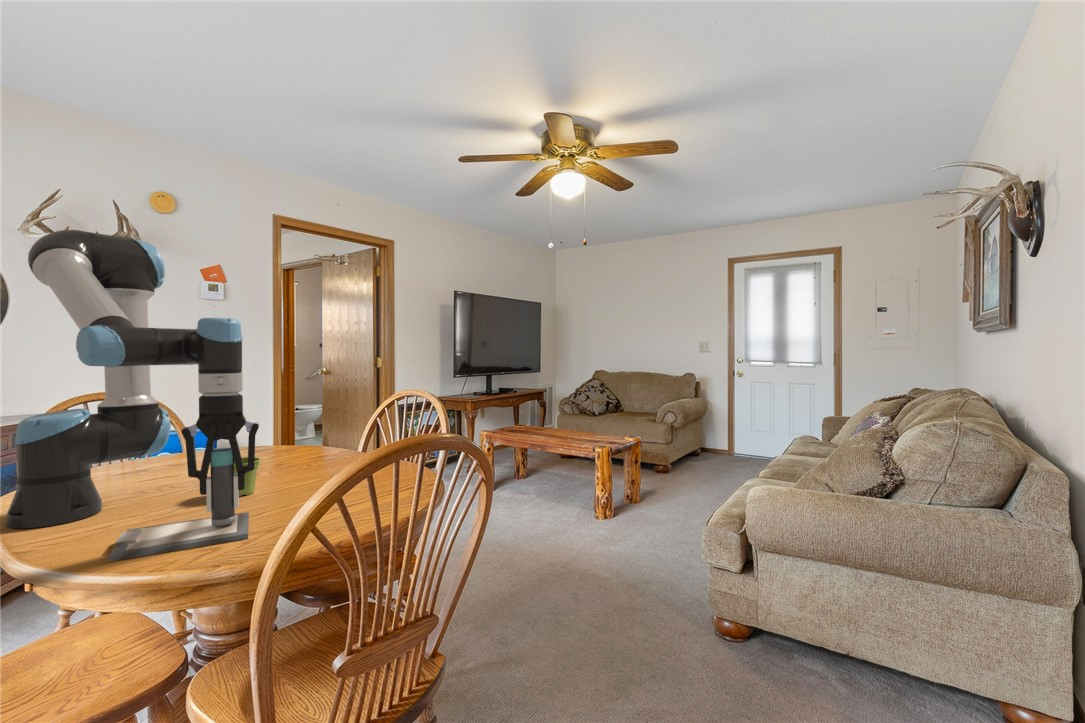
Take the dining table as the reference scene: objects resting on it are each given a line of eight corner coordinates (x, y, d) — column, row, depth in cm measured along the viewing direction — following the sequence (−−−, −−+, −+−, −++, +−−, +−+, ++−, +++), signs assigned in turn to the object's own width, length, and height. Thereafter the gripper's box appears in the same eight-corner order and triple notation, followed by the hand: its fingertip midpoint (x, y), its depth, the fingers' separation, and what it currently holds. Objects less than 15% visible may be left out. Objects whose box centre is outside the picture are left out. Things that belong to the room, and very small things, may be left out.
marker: (210, 527, 99) (208, 452, 98) (212, 520, 102) (211, 448, 102) (234, 523, 101) (233, 450, 100) (235, 517, 104) (234, 446, 104)
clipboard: (108, 561, 87) (108, 551, 87) (127, 534, 100) (127, 525, 100) (248, 538, 97) (247, 529, 97) (248, 516, 110) (248, 508, 110)
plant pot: (231, 489, 132) (231, 456, 132) (268, 488, 133) (267, 456, 133) (210, 499, 123) (209, 465, 123) (250, 498, 123) (249, 464, 123)
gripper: (166, 397, 93) (168, 520, 94) (269, 393, 102) (270, 506, 102) (172, 394, 100) (174, 509, 100) (268, 390, 108) (270, 496, 109)
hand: (223, 507), depth 101 cm, fingers closed on marker, 4 cm apart
